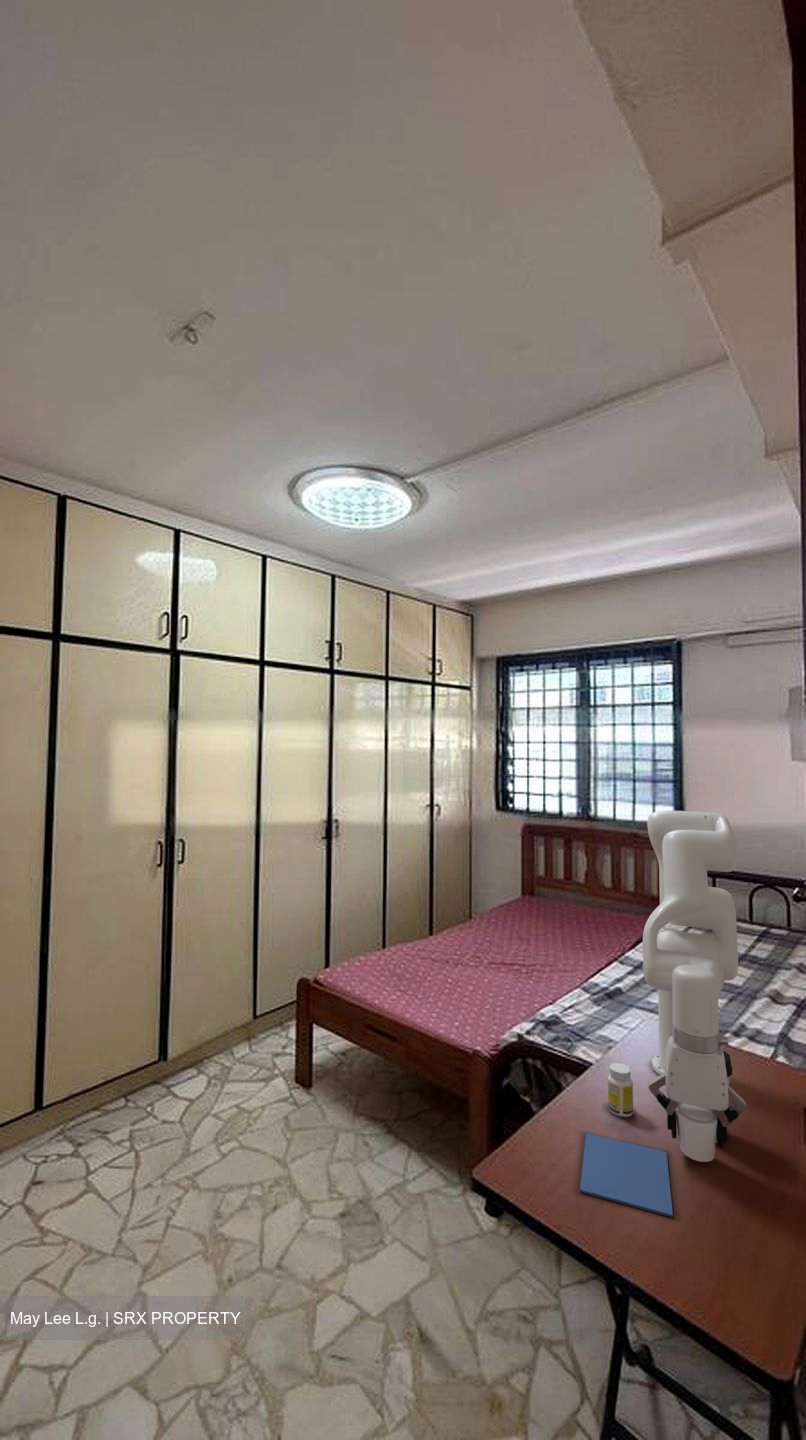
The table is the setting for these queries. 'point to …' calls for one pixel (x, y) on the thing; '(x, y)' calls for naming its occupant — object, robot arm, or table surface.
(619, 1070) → the supplement bottle
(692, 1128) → the white cup
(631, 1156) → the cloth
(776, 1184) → the table surface
